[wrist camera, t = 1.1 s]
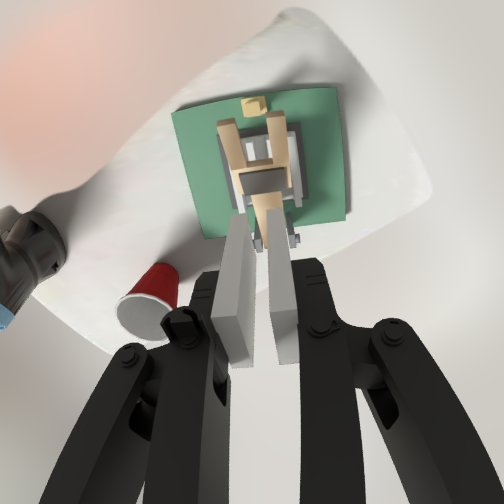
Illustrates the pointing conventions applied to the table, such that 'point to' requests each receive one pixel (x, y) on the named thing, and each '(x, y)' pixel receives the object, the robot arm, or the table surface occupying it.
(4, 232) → the gas can
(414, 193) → the table surface
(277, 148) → the strap
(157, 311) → the plastic cup
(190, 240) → the table surface
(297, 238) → the board
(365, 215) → the table surface
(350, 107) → the table surface
